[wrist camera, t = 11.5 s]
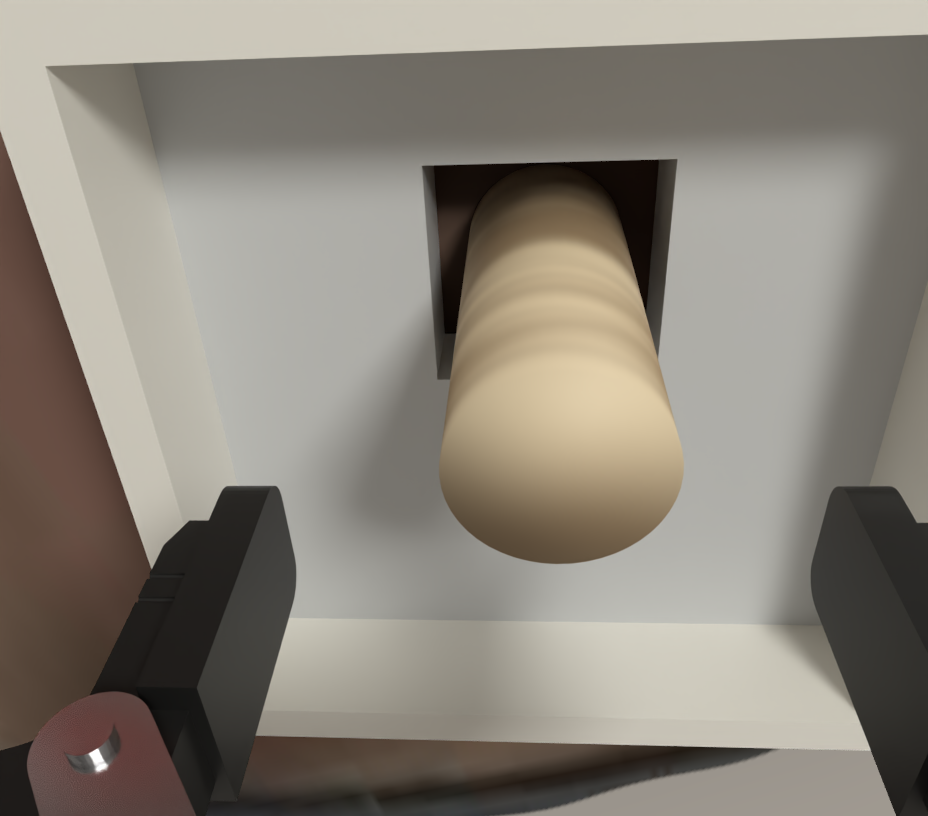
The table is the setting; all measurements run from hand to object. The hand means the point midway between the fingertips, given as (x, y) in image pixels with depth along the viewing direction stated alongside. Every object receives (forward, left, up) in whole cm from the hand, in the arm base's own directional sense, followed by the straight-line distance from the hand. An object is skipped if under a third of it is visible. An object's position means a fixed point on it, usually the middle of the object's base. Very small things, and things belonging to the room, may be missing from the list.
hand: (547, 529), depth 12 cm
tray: (+3, 0, -12) cm, 12 cm away
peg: (0, 0, -12) cm, 12 cm away
